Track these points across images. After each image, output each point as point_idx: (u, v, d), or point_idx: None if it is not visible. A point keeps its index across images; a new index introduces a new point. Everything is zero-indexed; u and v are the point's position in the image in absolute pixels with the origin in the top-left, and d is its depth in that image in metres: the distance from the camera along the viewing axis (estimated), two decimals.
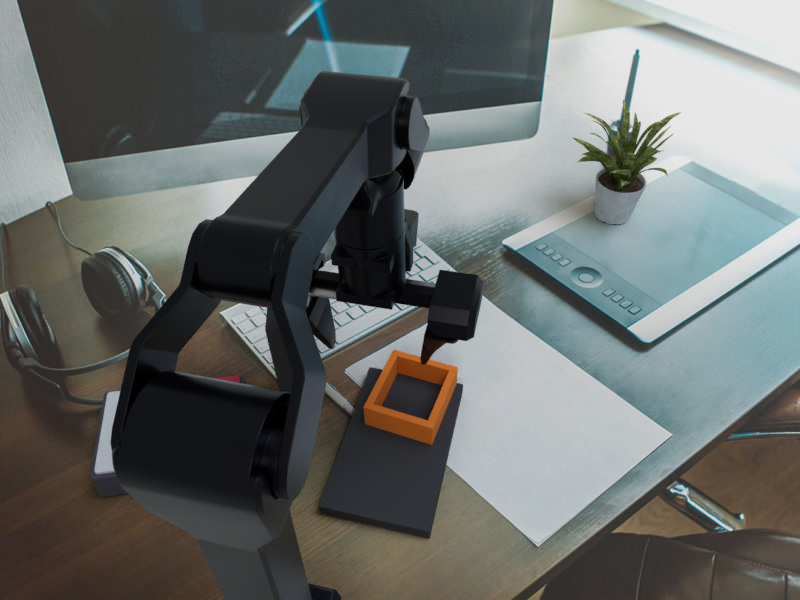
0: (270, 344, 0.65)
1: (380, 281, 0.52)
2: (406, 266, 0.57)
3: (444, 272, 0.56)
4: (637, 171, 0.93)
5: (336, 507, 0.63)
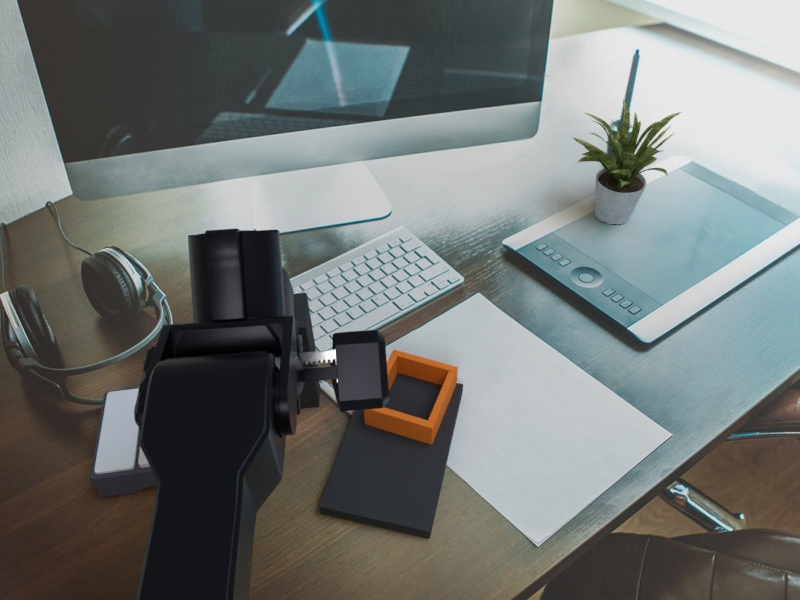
0: None
1: None
2: None
3: (341, 349, 0.50)
4: (637, 171, 0.93)
5: (336, 507, 0.63)
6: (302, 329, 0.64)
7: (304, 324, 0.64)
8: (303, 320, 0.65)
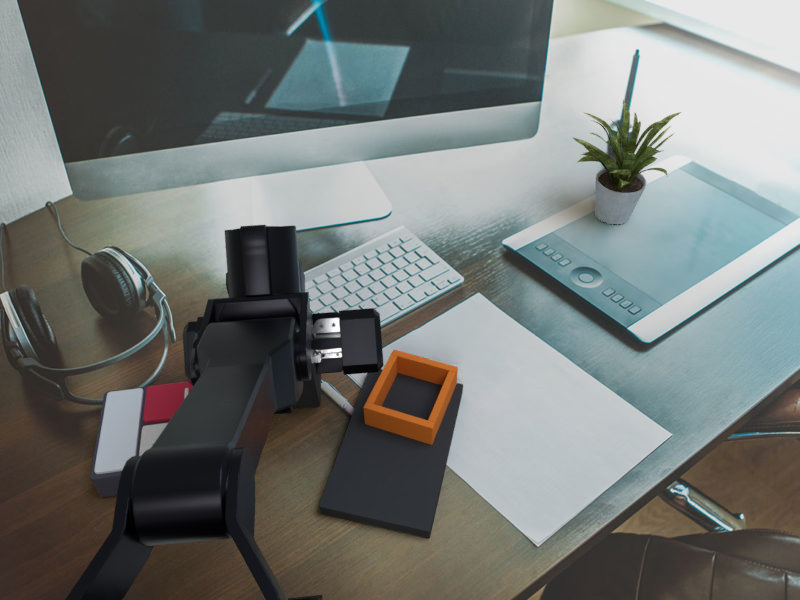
0: None
1: None
2: None
3: (344, 323, 0.61)
4: (637, 171, 0.93)
5: (336, 507, 0.63)
6: None
7: None
8: None
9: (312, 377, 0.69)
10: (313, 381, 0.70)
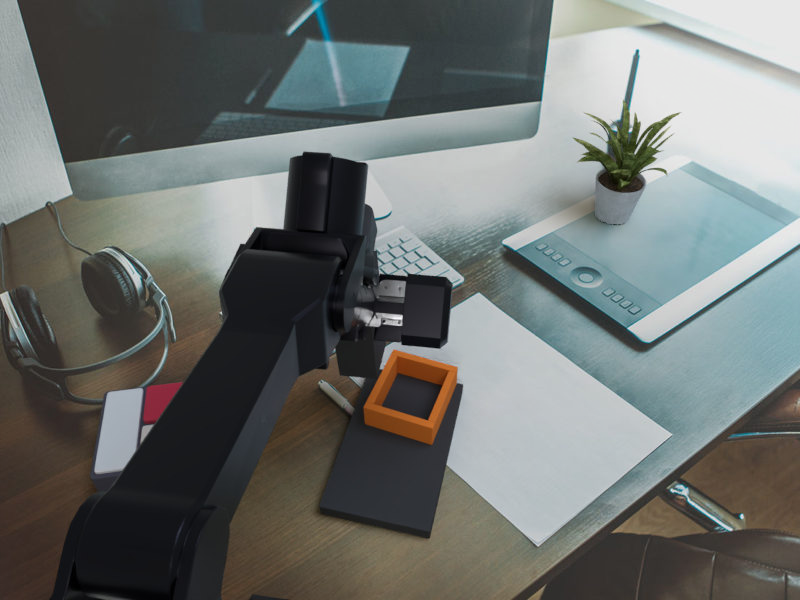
0: None
1: None
2: (371, 284, 0.55)
3: (410, 288, 0.55)
4: (637, 171, 0.93)
5: (336, 507, 0.63)
6: None
7: None
8: None
9: (372, 346, 0.63)
10: (372, 350, 0.64)
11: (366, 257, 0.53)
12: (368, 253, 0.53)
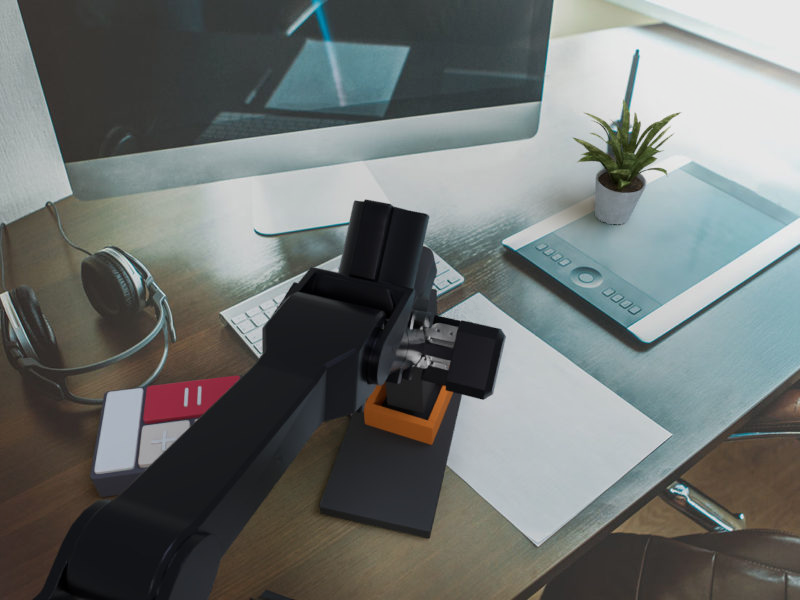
0: None
1: None
2: (423, 326, 0.55)
3: (461, 335, 0.55)
4: (637, 171, 0.93)
5: (336, 507, 0.63)
6: None
7: None
8: None
9: (421, 382, 0.64)
10: (421, 386, 0.64)
11: (420, 301, 0.53)
12: (423, 297, 0.54)
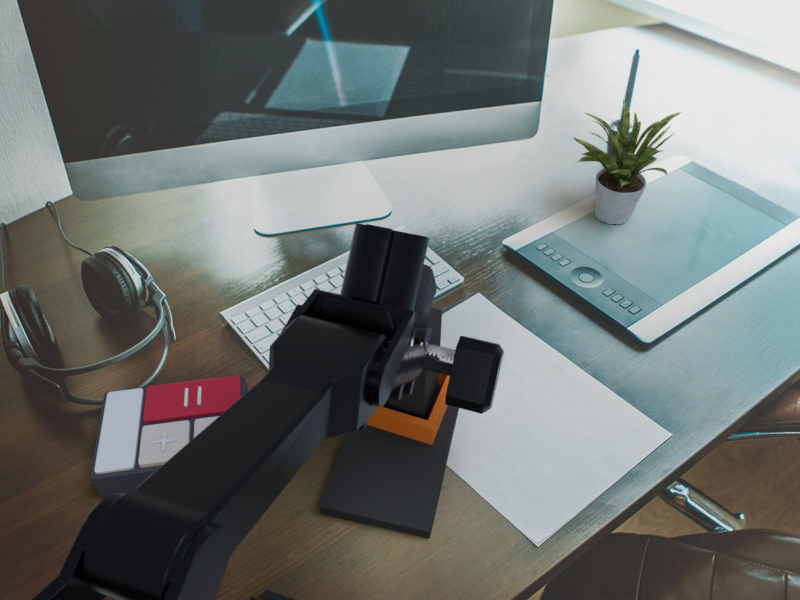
0: None
1: None
2: (423, 342, 0.57)
3: (460, 351, 0.56)
4: (637, 171, 0.93)
5: (336, 507, 0.63)
6: None
7: None
8: None
9: (423, 398, 0.66)
10: (423, 401, 0.66)
11: (420, 318, 0.55)
12: (423, 314, 0.55)
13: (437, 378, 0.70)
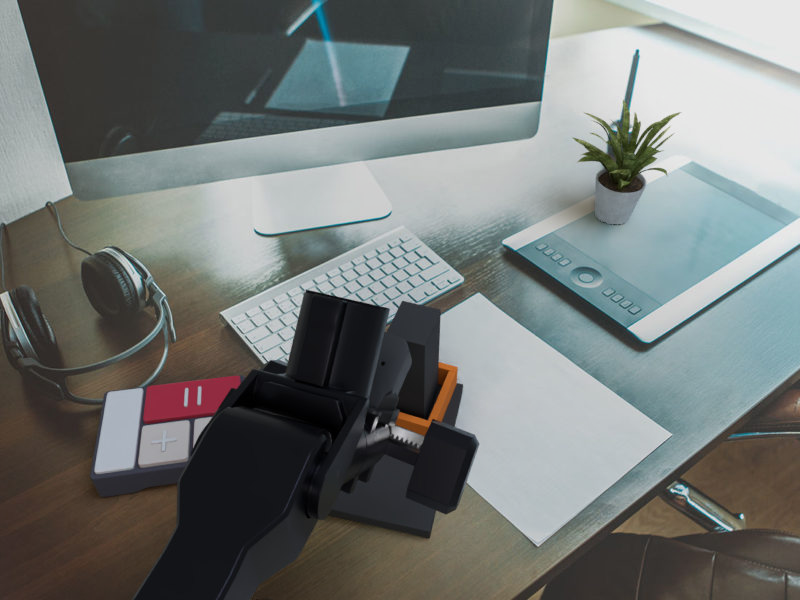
0: None
1: None
2: (388, 424, 0.50)
3: (429, 440, 0.49)
4: (637, 171, 0.93)
5: (336, 507, 0.63)
6: (421, 346, 0.60)
7: (425, 342, 0.60)
8: (425, 337, 0.61)
9: (423, 398, 0.66)
10: (423, 401, 0.66)
11: (387, 399, 0.48)
12: (391, 394, 0.48)
13: (437, 378, 0.70)
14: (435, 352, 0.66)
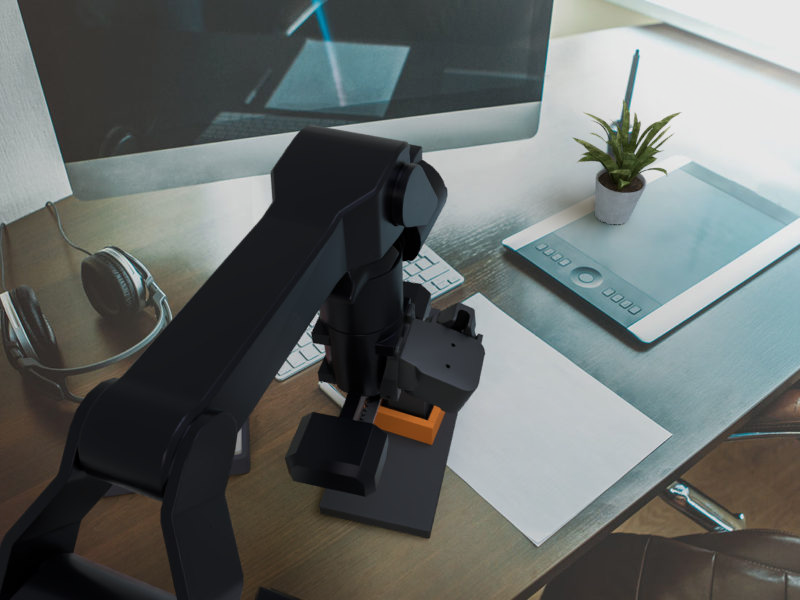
0: None
1: None
2: None
3: (367, 428, 0.43)
4: (637, 171, 0.93)
5: (336, 507, 0.63)
6: None
7: None
8: None
9: None
10: (423, 401, 0.66)
11: (410, 371, 0.44)
12: (415, 377, 0.44)
13: None
14: None
